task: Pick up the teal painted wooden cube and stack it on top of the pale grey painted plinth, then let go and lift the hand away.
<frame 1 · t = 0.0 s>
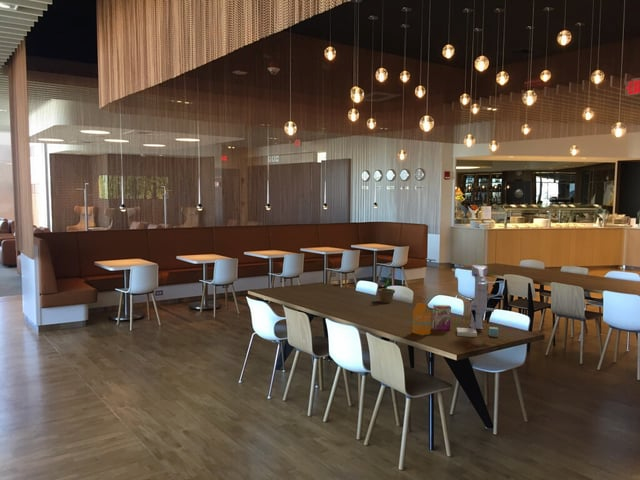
hand: (481, 322, 332), 10 cm above the table, tool pointing down, fingers open, 7 cm apart
orange juice: (421, 333, 342), on the table
teal cube: (493, 335, 340), on the table
flowerpot: (386, 302, 447), on the table
candy bar box: (441, 329, 353), on the table
grey plinth: (466, 334, 342), on the table
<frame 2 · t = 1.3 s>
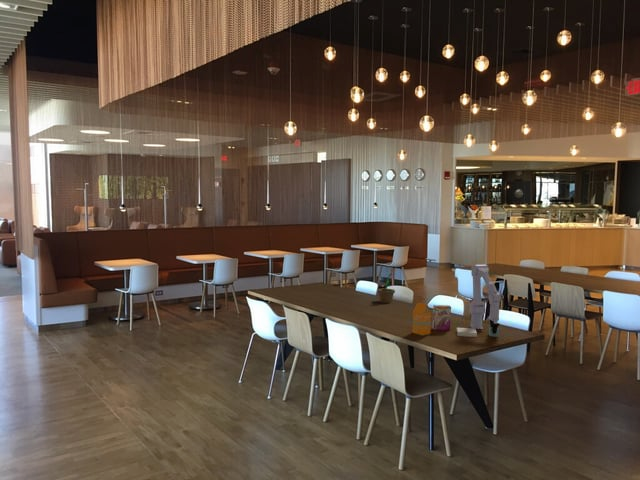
hand: (493, 332, 340), 2 cm above the table, tool pointing down, fingers open, 7 cm apart
nothing on the table moved.
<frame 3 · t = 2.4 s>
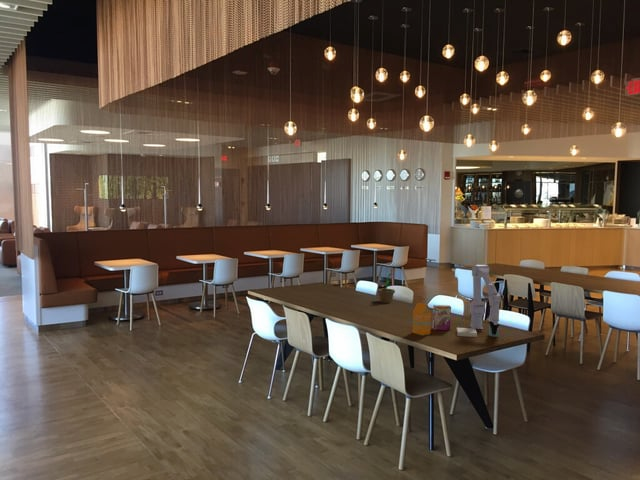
hand: (493, 333, 340), 1 cm above the table, tool pointing down, fingers closed on teal cube, 5 cm apart
teal cube: (493, 335, 340), on the table, touching gripper
everything else where it was.
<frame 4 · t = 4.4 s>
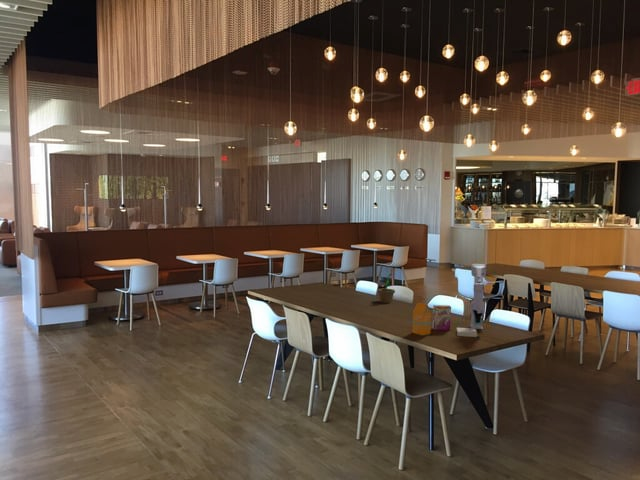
hand: (477, 321, 341), 8 cm above the table, tool pointing down, fingers closed on teal cube, 5 cm apart
teal cube: (477, 324, 341), point 7 cm above the table, touching gripper
everything else where it was.
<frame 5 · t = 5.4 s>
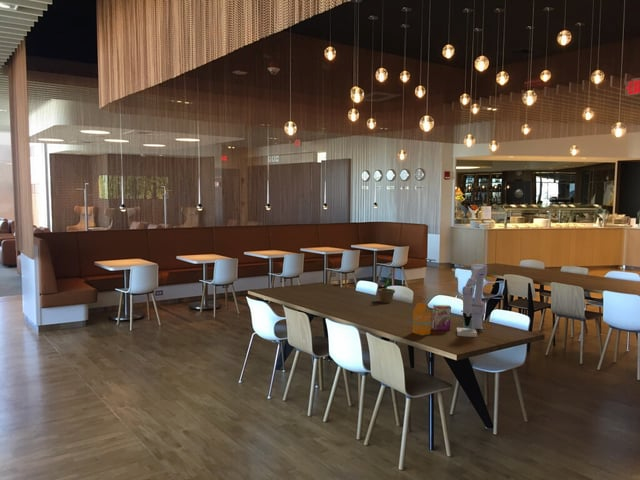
hand: (466, 324, 342), 6 cm above the table, tool pointing down, fingers closed on teal cube, 5 cm apart
teal cube: (467, 327, 342), point 4 cm above the table, touching gripper
everything else where it was.
when the fingers open (6 cm above the table, at t = 6.3 s): teal cube drops 2 cm, resting on grey plinth.
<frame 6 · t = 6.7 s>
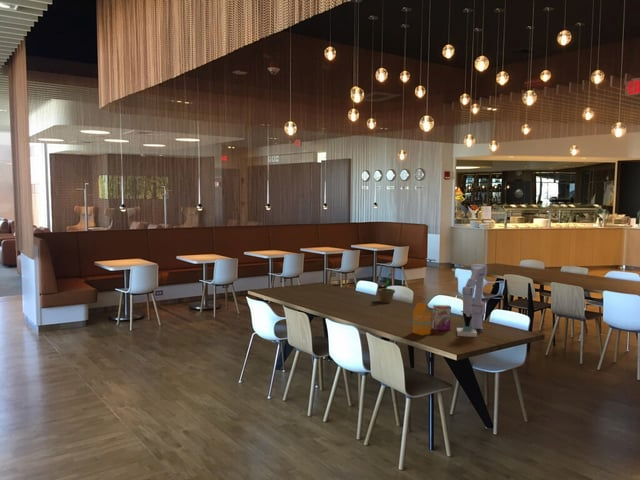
hand: (466, 325, 342), 6 cm above the table, tool pointing down, fingers open, 7 cm apart
teal cube: (466, 330, 342), point 2 cm above the table, touching grey plinth
grey plinth: (466, 334, 342), on the table, touching teal cube
everything else where it was.
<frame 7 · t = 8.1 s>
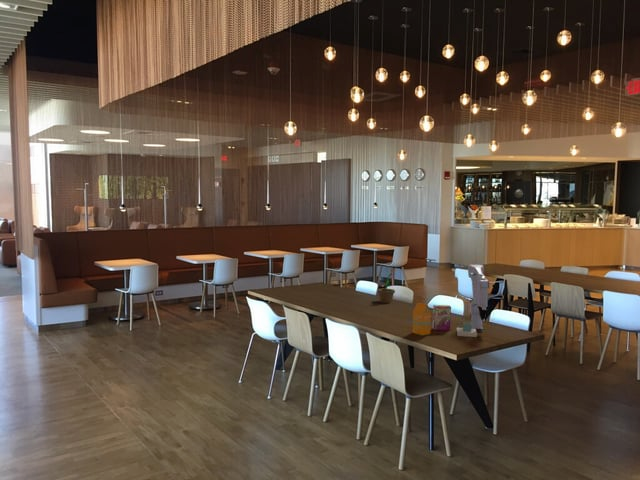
hand: (482, 318, 345), 10 cm above the table, tool pointing down, fingers open, 7 cm apart
nothing on the table moved.
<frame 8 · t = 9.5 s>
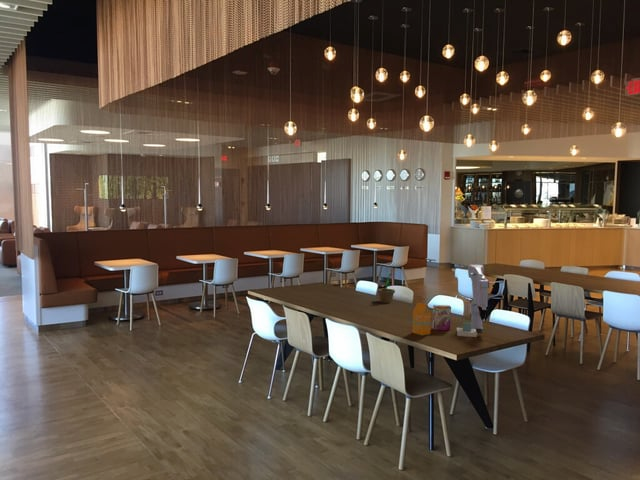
hand: (482, 318, 345), 10 cm above the table, tool pointing down, fingers open, 7 cm apart
nothing on the table moved.
at the end: teal cube inside the target area on the grey plinth (0.3 cm from its centre), point 3.0 cm above the grey plinth's base; teal cube tilted 0°; the gripper is holding nothing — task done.
